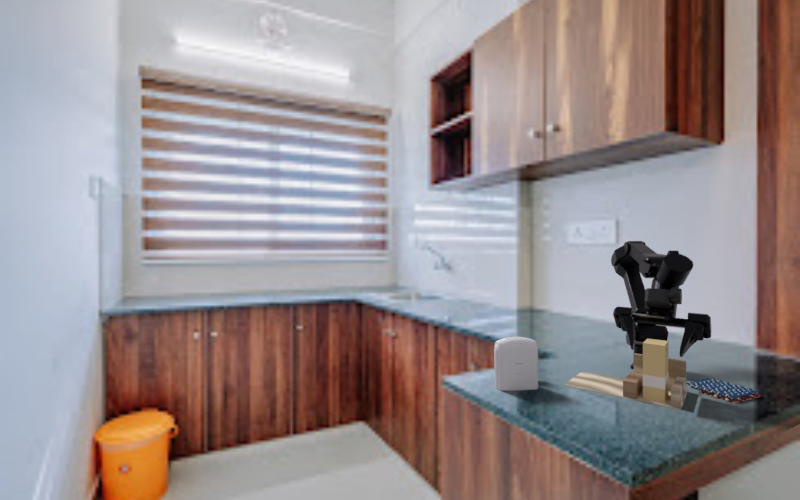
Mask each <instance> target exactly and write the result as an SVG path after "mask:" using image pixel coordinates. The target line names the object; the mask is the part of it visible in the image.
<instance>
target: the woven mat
mask: <svg viewBox="0 0 800 500" xmlns="http://www.w3.org/2000/svg"><path fill="white" fill-rule="evenodd" d="M686 385H688V386H687V388H694V389H696V390H698V391H699V392H698V394H703V395H705V396H706V395H707V396H708V397H713V398H715V399H720V400H723V401H724V400H725V401H726V402H731V403H732V404H738V403H743V402H746V401H750V400H755V399H757V398H760V397H761V396H762V394H760V393H759V389H758V390H755V389H753V388H749V387H745V386H743V385H742V386H740V385H739V384H733V383H730V382H729V381H727V382H726V381H723V380H718V379H715V378H712V379H710V378H706V379H701V380H700V379H699V380H694V381H690V382H686Z"/></svg>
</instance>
